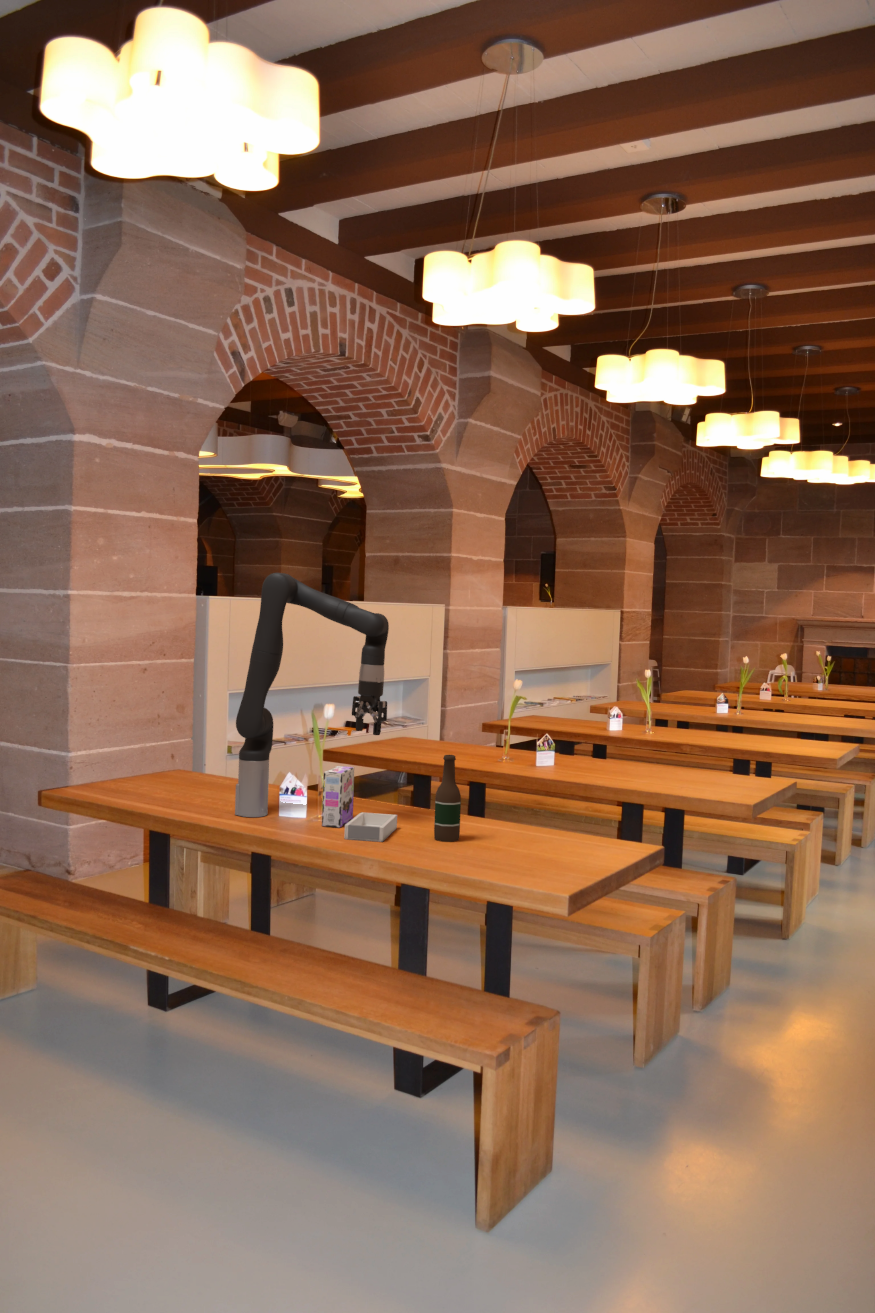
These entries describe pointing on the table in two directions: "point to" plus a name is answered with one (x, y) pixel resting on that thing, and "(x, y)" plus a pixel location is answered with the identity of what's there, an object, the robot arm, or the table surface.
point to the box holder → (370, 827)
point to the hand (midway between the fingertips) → (367, 733)
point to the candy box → (338, 796)
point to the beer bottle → (447, 804)
